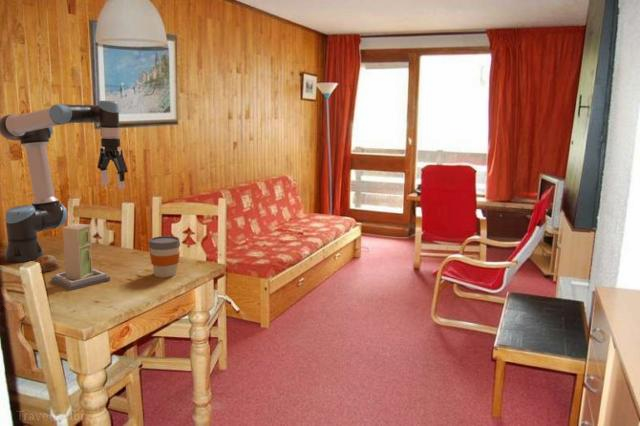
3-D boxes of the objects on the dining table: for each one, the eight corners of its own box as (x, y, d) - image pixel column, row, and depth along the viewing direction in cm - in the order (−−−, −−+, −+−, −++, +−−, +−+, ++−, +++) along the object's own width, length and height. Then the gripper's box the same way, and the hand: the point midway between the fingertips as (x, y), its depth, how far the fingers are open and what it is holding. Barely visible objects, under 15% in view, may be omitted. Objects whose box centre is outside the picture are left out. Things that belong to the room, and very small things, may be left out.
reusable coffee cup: (186, 274, 215) (185, 240, 212) (157, 280, 206) (156, 245, 203) (173, 267, 224) (171, 234, 221) (145, 272, 216) (143, 238, 213)
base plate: (51, 280, 203) (50, 274, 202) (90, 271, 215) (89, 265, 215) (70, 290, 193) (69, 283, 193) (110, 280, 205) (109, 273, 205)
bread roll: (59, 278, 217) (66, 260, 218) (34, 273, 209) (42, 254, 210) (50, 273, 224) (57, 255, 225) (26, 267, 216) (33, 250, 217)
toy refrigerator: (81, 280, 199) (78, 229, 195) (65, 279, 201) (61, 227, 197) (95, 274, 207) (91, 224, 203) (79, 273, 208) (75, 223, 204)
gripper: (134, 139, 212) (136, 189, 216) (103, 135, 227) (106, 182, 231) (117, 139, 206) (120, 191, 210) (87, 136, 221) (90, 184, 226)
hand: (113, 186), depth 221 cm, fingers open, 13 cm apart
